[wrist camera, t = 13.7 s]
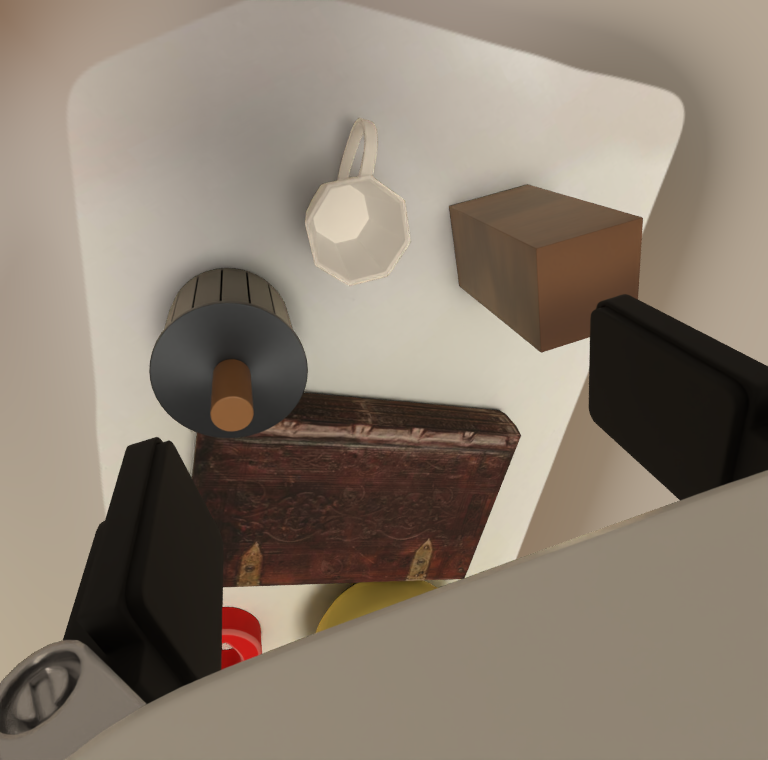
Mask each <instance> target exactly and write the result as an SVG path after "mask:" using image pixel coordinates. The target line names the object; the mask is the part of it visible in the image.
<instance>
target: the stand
mask: <svg viewBox="0 0 768 760" xmlns="http://www.w3.org/2000/svg"><path fill="white" fill-rule="evenodd" d="M449 209H450V217H451V225H452V232H453V240H454V248H455V255H456V263H457V271H458V279H459V286H460V287H461V288H462V289H464V290H465V291H466V292H467V293H469V294H470V295H471V296H472V297H473V298H475V299H476V300H477V301H478V302H480V303H481V304H482V305H483V306H484V307H486V308H487V309H488V310H489V311H491V312H492V313H493V314H494V315H496V316H497V317H498V318H499V319H500V320H502V321H503V322H504V323H505V324H507V325H508V326H509V327H510V328H512V329H513V330H514V331H515V332H516V333H518V334H519V335H520V336H521V337H523V338H524V339H525V340H526V341H527V342H529V343H530V344H531V345H532V346H534V347H535V348H536V349H537V350H539V351H540V352H544V351H548V350H551V349H554V348H557V347H560V346H563V345H566V344H570V343H573V342H576V341H579V340H582V339H585V338H588V337H590V317H591V313H592V311H593V310H595V309H596V306H597V304H598V303H599V302H600V301H603V300H606V299H609V298H613V297H616V296H619V295H623V294H627V295H630V296H632V297H634V298H636V299H638V289H639V273H640V256H641V241H642V224H643V218H642V217H639V216H635V215H632V214H628V213H625V212H621V211H618V210H615V209H611V208H608V207H604V206H601V205H597V204H594V203H590V202H587V201H583V200H580V199H576V198H573V197H569V196H566V195H562V194H559V193H555V192H552V191H549V190H545V189H542V188H538V187H535V186H531V185H524V186H520V187H517V188H513V189H509V190H506V191H502V192H499V193H495V194H491V195H488V196H484V197H480V198H477V199H473V200H469V201H466V202H462V203H458V204H455V205H451V206H449Z"/></svg>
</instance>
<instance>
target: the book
mask: <svg viewBox="0 0 768 760" xmlns="http://www.w3.org/2000/svg"><path fill="white" fill-rule="evenodd" d="M520 437H521V435H520V433H519V431H518V429H517V427H516V425H515V424H514V423H513V422H512V421H511V420H510V418H509V417H508V416H507V415H506V414H505V413H503V412H501V411H500V410H489V409H478V408H467V407H456V406H445V405H434V404H423V403H412V402H400V401H389V400H378V399H367V398H356V397H345V396H334V395H323V394H312V393H303V395H302V397H301V399H300V400H299V402H298V404H297V405H296V406H295V408H294V409H293V410H292V411H291V413H290V414H289V415H288V416H287V417H285V418H284V419H283V420H282V421H281V422H279V423H278V424H276V425H275V426H273V427H271V428H269V429H267V430H265V431H263V432H260V433H258V434H254V435H250V436H246V437H240V438H218V437H212V436H207V435H204V434H200V433H197V436H196V446H195V455H194V464H193V474H192V480H193V482H194V484H195V485H196V487H197V489H198V491H199V493H200V495H201V497H202V499H203V501H204V502H205V504H206V506H207V508H208V510H209V512H210V514H211V516H212V518H213V519H214V521H215V523H216V525H217V527H218V529H219V531H220V534H221V537H222V541H223V587H245V586H274V585H303V584H332V583H361V582H390V581H418V580H447V579H464V578H465V575H466V573H467V570H468V568H469V565H470V563H471V560H472V558H473V555H474V553H475V550H476V548H477V545H478V543H479V540H480V538H481V535H482V533H483V530H484V528H485V525H486V523H487V520H488V517H489V515H490V512H491V510H492V507H493V505H494V502H495V500H496V497H497V495H498V492H499V490H500V487H501V485H502V482H503V480H504V477H505V475H506V472H507V470H508V467H509V465H510V462H511V459H512V457H513V454H514V452H515V449H516V447H517V444H518V442H519V439H520Z"/></svg>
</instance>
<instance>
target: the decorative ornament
mask: <svg viewBox="0 0 768 760" xmlns="http://www.w3.org/2000/svg"><path fill="white" fill-rule="evenodd" d="M223 643H227V644H229V645H230V646H231V647H232V648H233V649H230V650H222V663H221V670H222V669H225V668H227V667H230V666H232V665H235V664H237V663H240V662H242V661H245V660H248V659H250V658H253V657H255V656H258V655H261V654H262V645H261V629H260V624H259V622H258V620H257V619H256V618H255V617H254V616H253V615H251V614H250V613H248V612H246V611H244V610H241V609H238V608H233V607H222V644H223Z"/></svg>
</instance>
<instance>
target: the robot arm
mask: <svg viewBox="0 0 768 760" xmlns="http://www.w3.org/2000/svg"><path fill="white" fill-rule="evenodd" d="M589 411H590V415H591V417H592V419H593V421H594V422H595V423H596V424H597V425H598V426H599V427H600V428H602V429H603V430H604V431H605V432H606V433H607V434H608V435H609V436H610V437H611V438H613V439H614V440H615V441H616V442H617V443H618V444H619V445H620V446H621V447H622V448H623V449H624V450H626V451H627V452H628V453H629V454H630V455H631V456H632V457H633V458H634V459H636V460H637V461H638V462H639V463H640V464H641V465H642V466H643V467H644V468H645V469H647V471H649V472H650V473H651V474H652V475H653V476H654V477H655V478H656V479H657V480H658V481H660V482H661V483H662V484H663V485H664V486H665V487H666V488H667V489H668V490H669V491H670V492H672V493H673V494H674V495H675V496H676V497H677V498H678V499H679V500H680V501H677V502H675V503H672V504H669V505H666V506H664V507H661V508H658V509H655V510H652V511H650V512H647V513H644V514H641V515H638V516H635V517H633V518H630V519H627V520H624V521H621V522H619V523H616V524H613V525H610V526H607V527H605V528H602V529H599V530H596V531H593V532H591V533H588V534H585V535H582V536H580V537H577V538H574V539H571V540H569V541H566V542H563V543H560V544H557V545H555V546H552V547H549V548H546V549H544V550H541V551H538V552H535V553H533V554H530V555H527V556H524V557H522V558H519V559H516V560H513V561H511V562H508V563H505V564H502V565H500V566H497V567H494V568H491V569H489V570H486V571H483V572H480V573H478V574H475V575H472V576H469V577H467V578H464V579H461V580H458V581H456V582H453V583H450V584H447V585H445V586H442V587H439V588H437V589H434V590H431V591H428V592H426V593H423V594H420V595H418V596H415V597H412V598H410V599H407V600H404V601H401V602H399V603H396V604H393V605H391V606H388V607H385V608H382V609H380V610H377V611H374V612H372V613H369V614H366V615H363V616H361V617H358V618H355V619H353V620H350V621H347V622H345V623H342V624H339V625H336V626H334V627H331V628H328V629H326V630H323V631H320V632H317V633H315V634H312V635H310V636H307V637H304V638H302V639H299V640H297V641H294V642H292V643H289V644H286V645H284V646H281V647H279V648H276V649H273V650H271V651H268V652H266V653H263V654H261V655H258V656H255V657H253V658H250V659H248V660H245V661H242V662H240V663H237V664H235V665H232V666H230V667H227V668H225V669H222V670H221V663H222V604H223V541H222V537H221V534H220V531H219V529H218V527H217V525H216V523H215V521H214V519H213V518H212V516H211V514H210V512H209V510H208V508H207V506H206V504H205V502H204V501H203V499H202V497H201V495H200V493H199V491H198V489H197V487H196V485H195V484H194V482H193V480H192V478H191V476H190V474H189V472H188V470H187V468H186V467H185V465H184V463H183V461H182V459H181V457H180V455H179V453H178V451H177V450H176V448H175V446H174V444H173V443H172V442H171V441H166V442H163V441H162V440H161V439H160V438H158V437H155V438H152V439H148V440H145V441H142V442H139V443H135V444H132V445H129V446H128V447H127V449H126V451H125V455H124V458H123V461H122V465H121V468H120V472H119V475H118V479H117V482H116V485H115V489H114V492H113V496H112V499H111V502H110V506H109V509H108V513H107V516H106V520H105V521H103V522H102V523H101V524H100V525H99V527H98V529H97V531H96V534H95V537H94V540H93V544H92V547H91V550H90V553H89V556H88V560H87V563H86V566H85V570H84V573H83V576H82V579H81V583H80V586H79V589H78V593H77V596H76V599H75V603H74V606H73V609H72V612H71V615H70V619H69V622H68V625H67V628H66V632H65V635H64V638H63V641H59V642H56V643H52V644H49V645H47V646H45V647H43V648H41V649H40V650H38V651H36V652H34V653H32V654H31V655H30V656H28V657H27V658H26V659H24V660H23V661H22V662H21V663H19V664H18V665H17V666H16V667H15V668H14V669H13V670H12V671H11V672H10V673H9V674H8V675H7V676H6V677H5V678H4V679H3V680H2V681H1V683H0V760H768V366H766V365H764V364H762V363H760V362H758V361H756V360H754V359H752V358H750V357H749V356H746V355H745V354H743V353H741V352H739V351H737V350H735V349H733V348H731V347H729V346H727V345H725V344H723V343H721V342H719V341H717V340H715V339H713V338H712V337H710V336H708V335H706V334H704V333H702V332H700V331H698V330H696V329H694V328H692V327H690V326H688V325H686V324H684V323H682V322H680V321H678V320H676V319H674V318H673V317H671V316H669V315H667V314H665V313H663V312H661V311H659V310H657V309H655V308H653V307H651V306H649V305H647V304H645V303H643V302H641V301H639V300H638V299H636V298H634V297H632V296H630V295H627V294H623V295H619V296H616V297H613V298H609V299H606V300H603V301H600V302H599V303H598V304H597V306H596V309H595V310H593V311H592V313H591V317H590V366H589Z"/></svg>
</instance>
